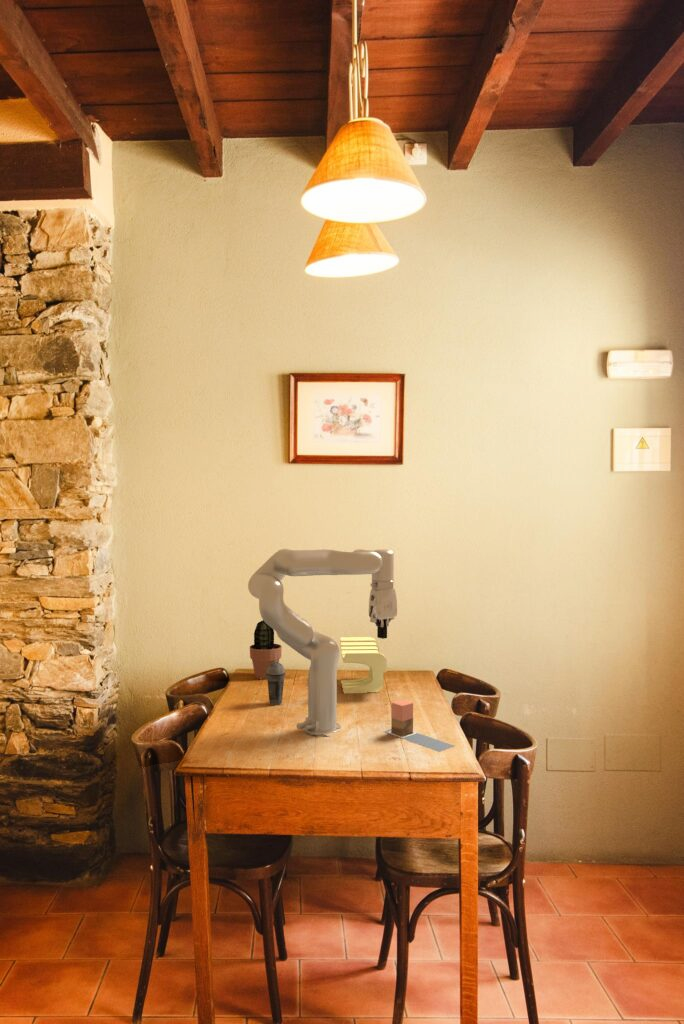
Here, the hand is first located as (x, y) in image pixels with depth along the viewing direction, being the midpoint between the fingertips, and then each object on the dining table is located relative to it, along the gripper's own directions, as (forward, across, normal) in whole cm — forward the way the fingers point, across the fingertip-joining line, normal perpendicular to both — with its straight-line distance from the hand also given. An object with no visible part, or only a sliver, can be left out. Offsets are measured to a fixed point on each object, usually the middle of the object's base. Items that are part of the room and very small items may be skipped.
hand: (382, 637), depth 249 cm
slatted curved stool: (+29, +23, +34) cm, 51 cm away
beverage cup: (+29, -16, +40) cm, 52 cm away
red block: (+23, -6, -15) cm, 28 cm away
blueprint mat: (+29, -6, -22) cm, 37 cm away
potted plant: (+29, +4, +74) cm, 80 cm away
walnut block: (+28, -6, -15) cm, 33 cm away
